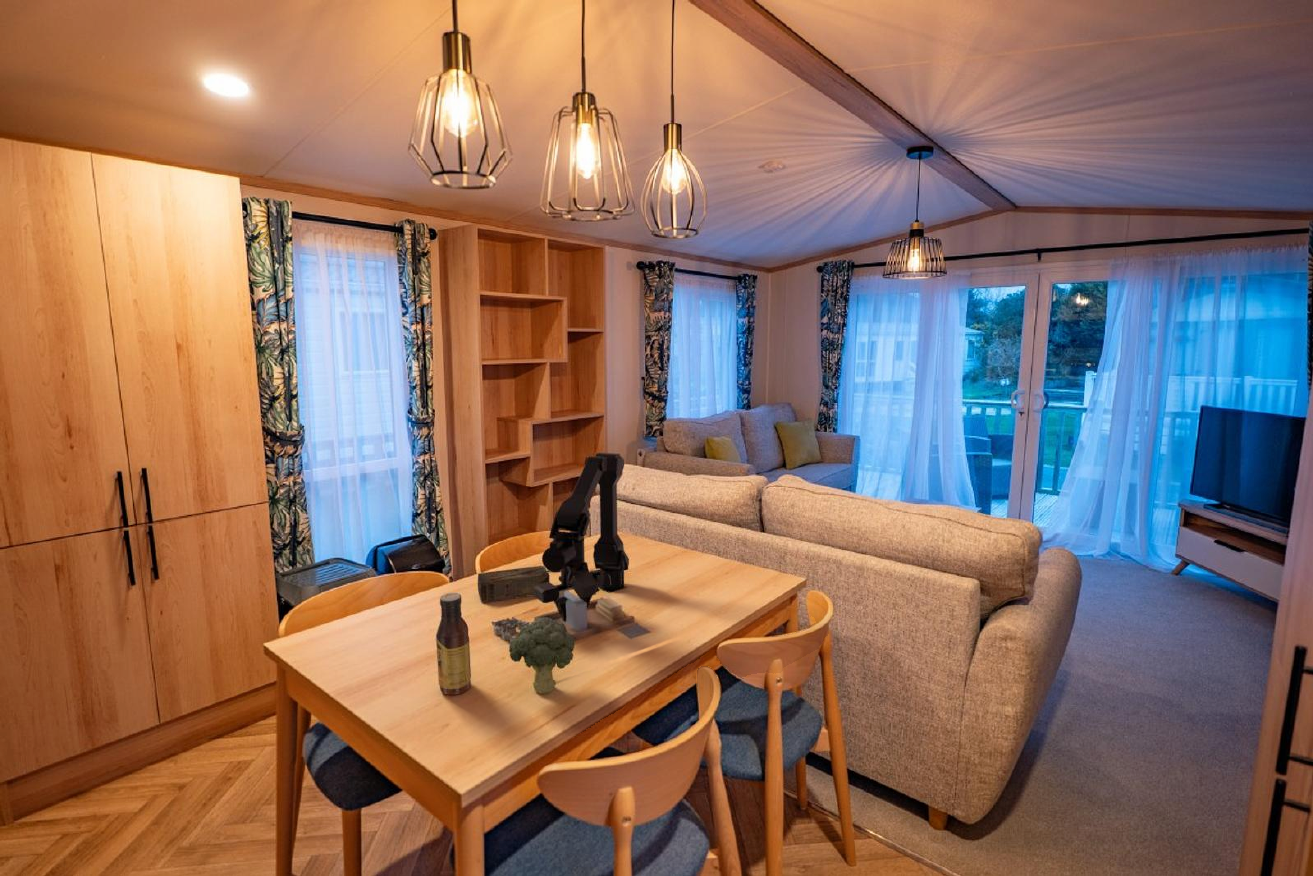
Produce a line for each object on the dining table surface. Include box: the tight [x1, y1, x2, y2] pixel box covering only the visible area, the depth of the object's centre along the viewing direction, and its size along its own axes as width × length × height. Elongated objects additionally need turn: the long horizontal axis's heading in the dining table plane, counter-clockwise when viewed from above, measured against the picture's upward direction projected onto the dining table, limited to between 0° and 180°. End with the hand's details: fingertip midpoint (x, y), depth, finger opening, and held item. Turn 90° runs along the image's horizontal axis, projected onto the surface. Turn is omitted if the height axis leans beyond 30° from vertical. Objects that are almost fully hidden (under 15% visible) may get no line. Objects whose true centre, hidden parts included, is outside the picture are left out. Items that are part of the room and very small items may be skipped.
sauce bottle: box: [435, 592, 472, 696], centre depth 122 cm, size 7×6×20 cm
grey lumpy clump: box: [491, 616, 533, 645], centre depth 146 cm, size 11×8×4 cm
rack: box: [533, 597, 635, 642], centre depth 153 cm, size 20×15×2 cm
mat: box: [616, 622, 652, 640], centre depth 148 cm, size 6×6×1 cm
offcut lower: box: [596, 604, 625, 621], centre depth 158 cm, size 4×8×2 cm, turn 37°
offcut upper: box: [598, 597, 623, 614], centre depth 157 cm, size 4×6×2 cm, turn 37°
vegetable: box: [508, 617, 575, 695], centre depth 122 cm, size 12×13×15 cm
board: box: [561, 590, 587, 632], centre depth 151 cm, size 2×9×7 cm, turn 37°
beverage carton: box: [477, 565, 550, 604], centre depth 172 cm, size 8×19×7 cm, turn 113°
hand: (573, 618), depth 151 cm, fingers open, 5 cm apart
